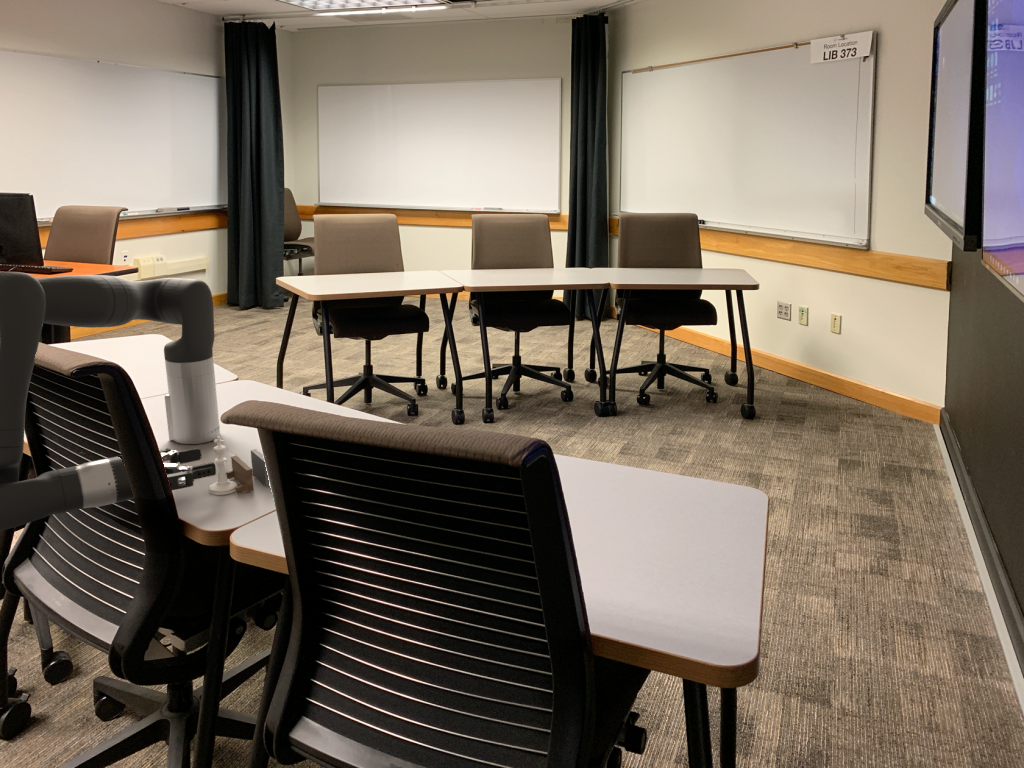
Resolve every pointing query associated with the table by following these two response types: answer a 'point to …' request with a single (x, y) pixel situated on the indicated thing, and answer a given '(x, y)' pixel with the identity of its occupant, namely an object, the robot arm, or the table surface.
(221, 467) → the chess piece
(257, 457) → the backstop wall
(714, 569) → the table surface
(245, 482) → the sliding block
